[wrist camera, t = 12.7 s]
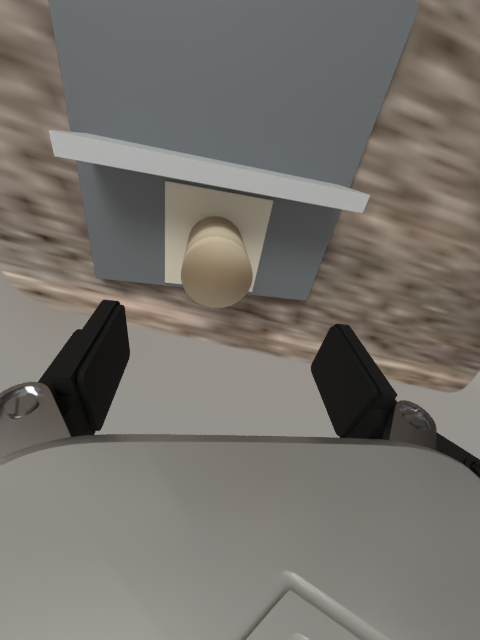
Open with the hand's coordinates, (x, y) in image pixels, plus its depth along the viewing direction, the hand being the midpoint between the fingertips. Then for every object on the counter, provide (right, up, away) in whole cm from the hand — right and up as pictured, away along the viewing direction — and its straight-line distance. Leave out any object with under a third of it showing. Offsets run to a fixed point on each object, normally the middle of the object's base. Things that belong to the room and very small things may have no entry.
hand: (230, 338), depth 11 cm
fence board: (-1, +13, +9) cm, 16 cm away
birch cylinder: (-2, +8, +11) cm, 14 cm away
